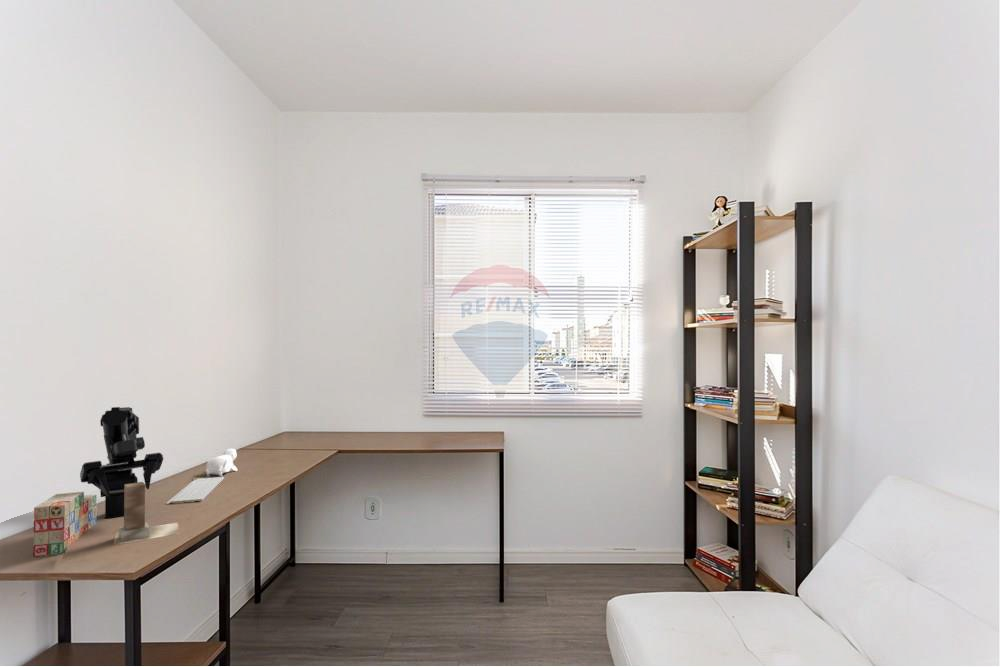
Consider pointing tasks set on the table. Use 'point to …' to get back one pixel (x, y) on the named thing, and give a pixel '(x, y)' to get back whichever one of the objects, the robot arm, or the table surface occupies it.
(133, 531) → the block
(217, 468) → the white lumpy figurine
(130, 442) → the robot arm
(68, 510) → the stack of blocks
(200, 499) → the baseboard molding
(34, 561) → the table surface
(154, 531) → the board
